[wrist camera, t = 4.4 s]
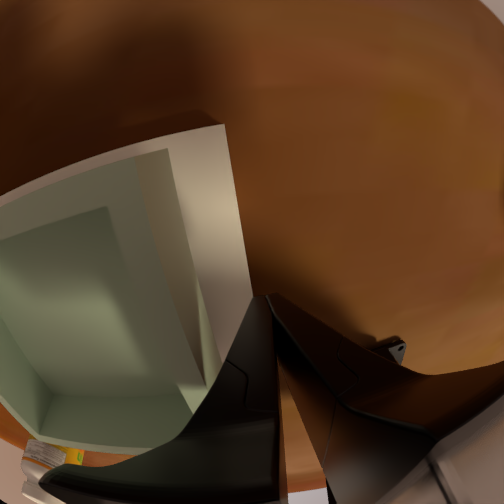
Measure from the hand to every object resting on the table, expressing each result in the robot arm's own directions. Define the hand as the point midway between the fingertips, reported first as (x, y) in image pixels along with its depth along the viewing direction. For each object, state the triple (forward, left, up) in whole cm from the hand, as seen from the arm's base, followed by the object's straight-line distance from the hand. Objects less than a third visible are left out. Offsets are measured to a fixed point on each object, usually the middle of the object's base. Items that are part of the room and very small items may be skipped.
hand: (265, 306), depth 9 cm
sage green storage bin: (0, +8, -4) cm, 9 cm away
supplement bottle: (-14, +20, -5) cm, 25 cm away
